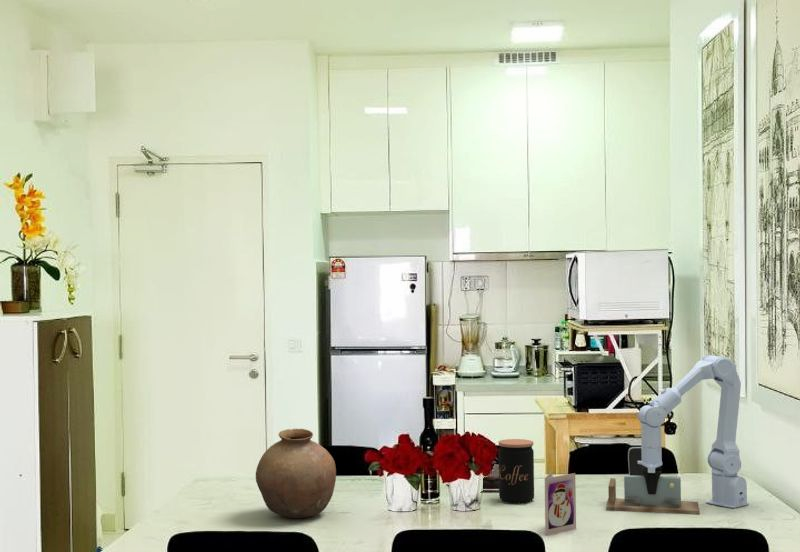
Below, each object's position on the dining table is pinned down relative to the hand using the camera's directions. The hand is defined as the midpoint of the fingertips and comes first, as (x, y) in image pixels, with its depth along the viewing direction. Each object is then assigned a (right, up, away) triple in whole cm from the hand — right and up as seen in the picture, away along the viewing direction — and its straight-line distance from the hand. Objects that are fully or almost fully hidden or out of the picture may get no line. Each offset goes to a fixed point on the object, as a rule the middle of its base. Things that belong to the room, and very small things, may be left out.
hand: (652, 493), depth 289 cm
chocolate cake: (-45, -6, +37) cm, 58 cm away
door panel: (0, -3, 0) cm, 3 cm away
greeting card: (-33, -5, -24) cm, 41 cm away
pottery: (-104, -6, -5) cm, 104 cm away
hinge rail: (0, -4, 0) cm, 4 cm away
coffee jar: (-38, -5, +12) cm, 40 cm away
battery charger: (+5, -5, +39) cm, 39 cm away
